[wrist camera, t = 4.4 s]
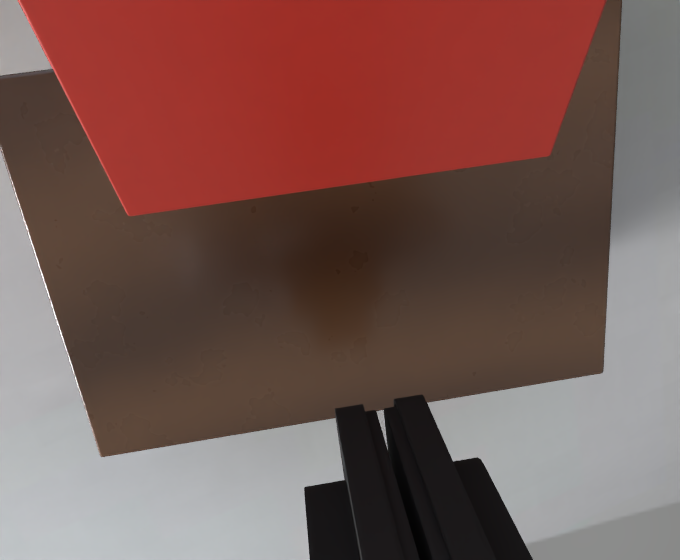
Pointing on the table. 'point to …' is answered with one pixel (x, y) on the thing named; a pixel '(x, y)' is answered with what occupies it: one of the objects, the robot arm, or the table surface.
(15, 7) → the table surface
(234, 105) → the container
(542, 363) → the walnut box
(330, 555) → the robot arm
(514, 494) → the table surface
